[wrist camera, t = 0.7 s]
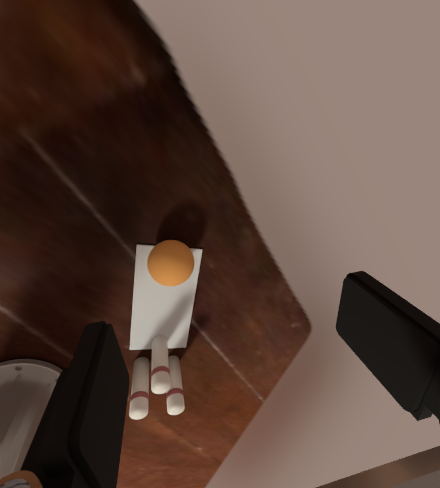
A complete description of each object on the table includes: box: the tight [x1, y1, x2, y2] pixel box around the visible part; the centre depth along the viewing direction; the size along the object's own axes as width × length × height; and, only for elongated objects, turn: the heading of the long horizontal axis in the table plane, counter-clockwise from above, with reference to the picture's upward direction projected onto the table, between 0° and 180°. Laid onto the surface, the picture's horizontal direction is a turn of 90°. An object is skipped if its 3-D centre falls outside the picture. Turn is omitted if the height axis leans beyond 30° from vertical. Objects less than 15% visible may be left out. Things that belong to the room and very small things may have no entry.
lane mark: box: [130, 244, 202, 350], centre depth 38 cm, size 18×9×1 cm, turn 169°
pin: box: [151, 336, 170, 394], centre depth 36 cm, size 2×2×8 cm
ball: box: [147, 240, 194, 286], centre depth 32 cm, size 6×6×6 cm
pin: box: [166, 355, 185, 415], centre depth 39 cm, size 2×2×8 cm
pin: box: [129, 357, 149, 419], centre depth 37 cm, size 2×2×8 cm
